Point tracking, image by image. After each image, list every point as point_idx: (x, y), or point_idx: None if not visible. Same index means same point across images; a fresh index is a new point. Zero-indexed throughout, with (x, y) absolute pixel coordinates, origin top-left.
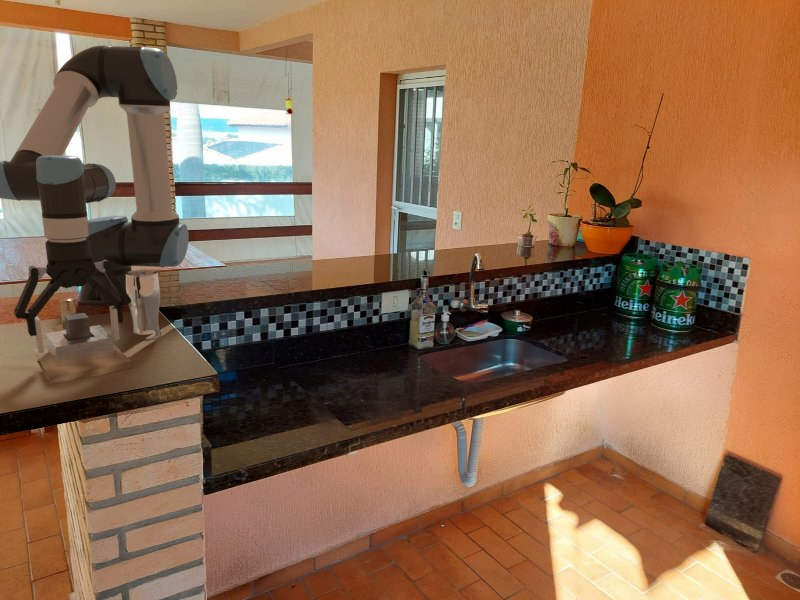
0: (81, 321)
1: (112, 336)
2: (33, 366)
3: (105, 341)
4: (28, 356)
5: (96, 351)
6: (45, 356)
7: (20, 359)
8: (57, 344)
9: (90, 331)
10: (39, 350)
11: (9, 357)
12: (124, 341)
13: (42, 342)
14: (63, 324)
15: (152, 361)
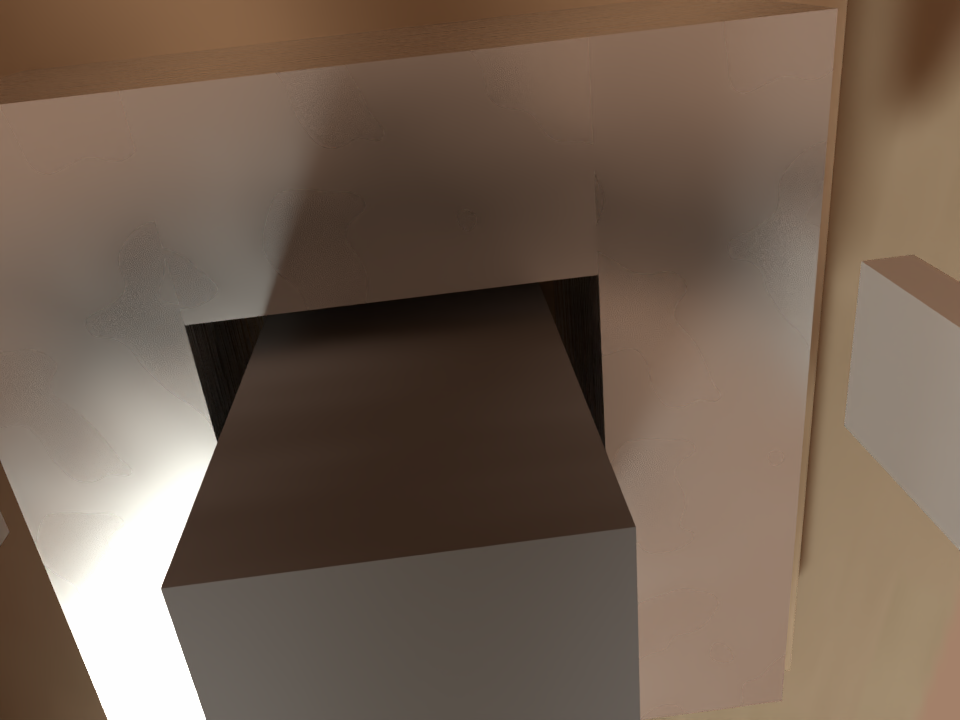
0: (345, 511)
1: (5, 526)
2: (829, 366)
3: (15, 100)
4: (802, 615)
5: (216, 58)
6: None
7: (870, 573)
8: (771, 163)
9: None
10: (929, 266)
11: (924, 642)
12: (10, 688)
13: (946, 313)
14: None
15: None
